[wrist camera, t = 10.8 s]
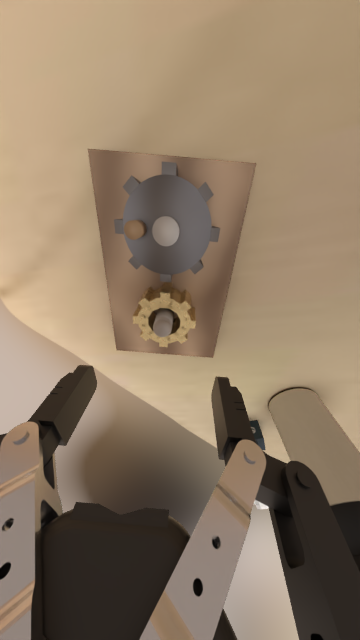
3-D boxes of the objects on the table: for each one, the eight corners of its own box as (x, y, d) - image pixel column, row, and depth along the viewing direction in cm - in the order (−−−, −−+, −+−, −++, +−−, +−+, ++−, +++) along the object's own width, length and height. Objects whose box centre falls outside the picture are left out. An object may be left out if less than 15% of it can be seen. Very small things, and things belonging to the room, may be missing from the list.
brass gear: (197, 284, 19) (199, 295, 16) (191, 333, 22) (192, 349, 19) (138, 280, 19) (130, 290, 16) (140, 329, 22) (134, 344, 19)
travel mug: (270, 388, 29) (367, 589, 13) (322, 384, 28) (492, 595, 12) (265, 416, 33) (336, 597, 17) (311, 414, 32) (429, 602, 16)
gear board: (250, 167, 15) (287, 139, 9) (211, 350, 25) (218, 388, 20) (96, 154, 15) (43, 118, 9) (120, 343, 25) (101, 379, 19)
